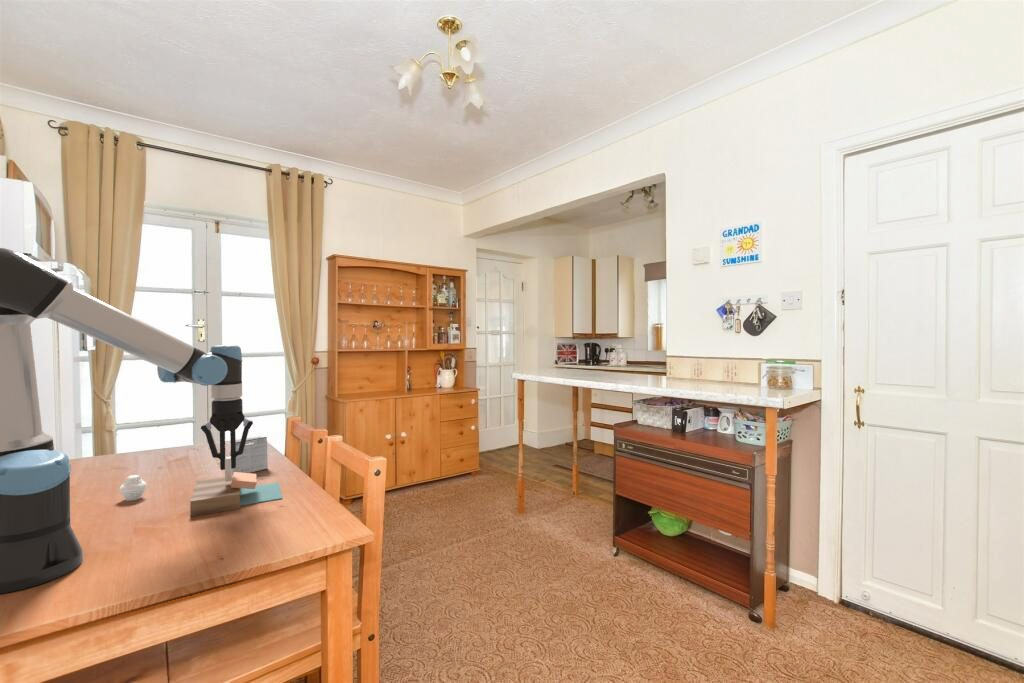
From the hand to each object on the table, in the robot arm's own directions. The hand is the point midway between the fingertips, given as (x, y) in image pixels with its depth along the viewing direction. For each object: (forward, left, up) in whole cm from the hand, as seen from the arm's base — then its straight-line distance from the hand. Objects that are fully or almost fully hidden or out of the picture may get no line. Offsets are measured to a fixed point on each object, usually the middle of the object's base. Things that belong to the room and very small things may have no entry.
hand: (228, 480), depth 130 cm
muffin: (+14, +24, -6) cm, 28 cm away
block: (0, -4, -2) cm, 4 cm away
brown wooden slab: (0, +3, -5) cm, 6 cm away
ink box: (+26, -5, -6) cm, 27 cm away
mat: (0, -8, -5) cm, 9 cm away
